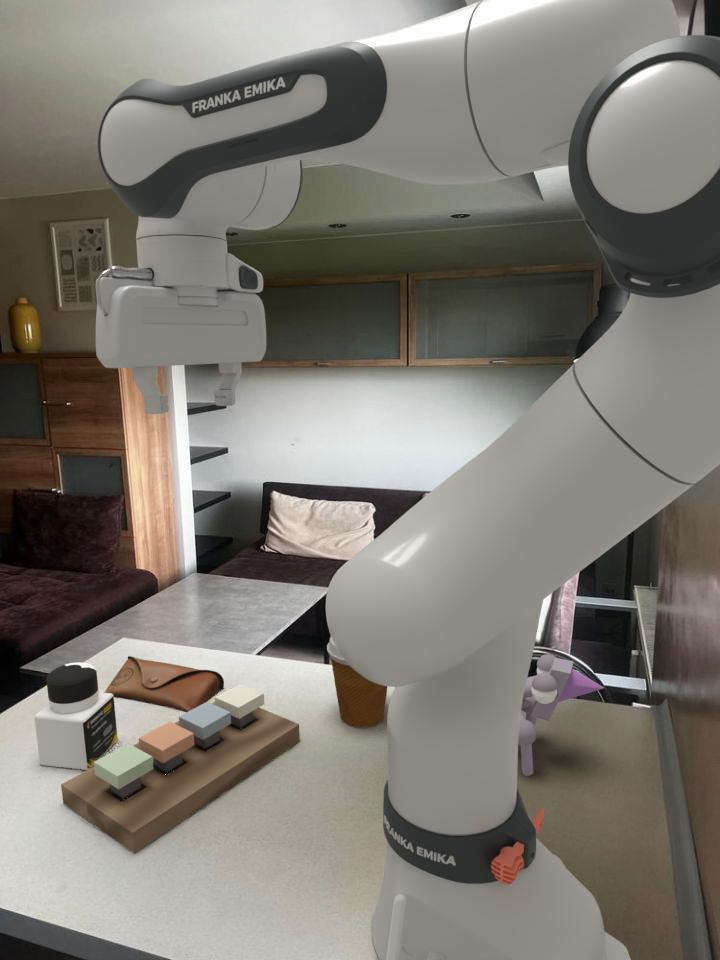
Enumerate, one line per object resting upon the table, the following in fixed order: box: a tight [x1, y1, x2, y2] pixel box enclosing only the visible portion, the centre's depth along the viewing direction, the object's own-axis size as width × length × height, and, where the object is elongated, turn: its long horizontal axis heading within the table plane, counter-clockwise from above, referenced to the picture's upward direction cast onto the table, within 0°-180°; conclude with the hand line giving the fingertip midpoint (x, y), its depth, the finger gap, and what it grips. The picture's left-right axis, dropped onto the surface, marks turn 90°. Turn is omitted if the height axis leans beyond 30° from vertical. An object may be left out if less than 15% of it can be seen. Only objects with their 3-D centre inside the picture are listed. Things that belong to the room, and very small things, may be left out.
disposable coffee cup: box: [326, 636, 388, 728], centre depth 99 cm, size 10×10×12 cm
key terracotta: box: [138, 721, 194, 772], centre depth 85 cm, size 5×5×4 cm
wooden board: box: [60, 701, 301, 854], centre depth 88 cm, size 14×26×2 cm, turn 143°
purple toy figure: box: [518, 653, 605, 777], centre depth 89 cm, size 20×11×14 cm, turn 68°
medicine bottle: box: [34, 661, 119, 771], centre depth 91 cm, size 7×7×12 cm
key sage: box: [93, 743, 153, 798], centre depth 80 cm, size 5×5×4 cm
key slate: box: [178, 701, 231, 749], centre depth 89 cm, size 5×5×4 cm
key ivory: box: [214, 683, 265, 728], centre depth 94 cm, size 5×5×4 cm
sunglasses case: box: [103, 655, 225, 713], centre depth 108 cm, size 18×7×7 cm, turn 70°
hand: (193, 409), depth 73 cm, fingers open, 8 cm apart
